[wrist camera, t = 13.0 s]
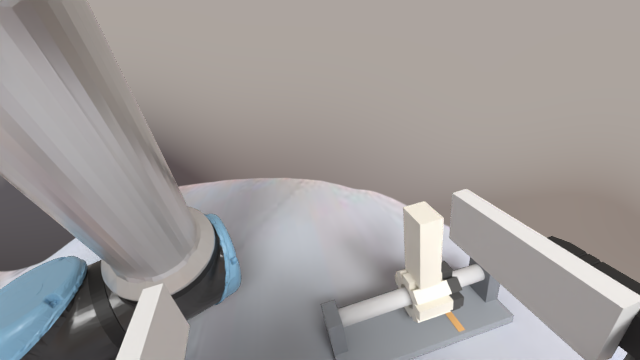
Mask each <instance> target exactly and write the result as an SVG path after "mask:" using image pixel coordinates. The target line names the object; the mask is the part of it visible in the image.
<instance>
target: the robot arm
mask: <svg viewBox="0 0 640 360" xmlns="http://www.w3.org/2000/svg"><path fill="white" fill-rule="evenodd" d="M0 175H1V176H2V177H3V178H5V179H6V180H7V181H8V182H10V183H11V184H12V185H13V186H15V187H16V188H17V189H18V190H19V191H20V192H22V193H23V194H24V195H25V196H26V197H28V198H29V199H30V200H31V201H33V202H34V203H35V204H36V205H37V206H39V207H40V208H41V209H42V210H43V211H45V212H46V213H47V214H48V215H49V216H51V217H52V218H53V219H54V220H55V221H57V222H58V223H59V224H60V225H62V226H63V227H64V228H65V229H66V230H68V231H69V232H70V233H71V234H72V235H74V236H75V237H76V238H77V239H78V240H80V241H81V242H82V243H83V244H84V245H86V246H87V247H88V248H89V249H91V250H92V251H93V252H94V253H95V254H97V255H98V256H99V257H100V258H101V259H102V260H100V261H98V262H96V263H93V264H91V265H88V266H87V264H86V262H85V261H84V260H81V259H80V258H78V257H75V256H68V257H60V258H57V259H54V260H51V261H49V262H46V263H44V264H42V265H40V266H38V267H36V268H34V269H32V270H30V271H28V272H26V273H25V274H23V275H21V276H20V277H18V278H16V279H15V280H13V281H12V282H10V283H9V284H7V285H6V286H5V287H3V288H2V289H0V360H184V358H185V352H186V346H187V340H188V335H189V329H190V326H189V324H188V322H187V320H188V319H190V318H192V317H194V316H195V315H197V314H199V313H201V312H203V311H204V310H206V309H208V308H210V307H211V306H213V305H217V304H219V303H221V302H222V301H223V300H224V299H225V298H226V297H228V296H229V295H231V294H233V293H234V292H235V291H236V290H237V289H238V288H239V286H240V284H241V270H240V266H239V262H238V260H237V258H236V253H235V249H234V246H233V243H232V241H231V238H230V236H229V234H228V232H227V230H226V228H225V226H224V224H223V222H222V221H221V219H220V218H219V217H218V216H217V215H214V214H208V215H204V214H203V213H201V212H200V211H198V210H196V209H194V208H192V207H188V206H187V204H186V202H185V200H184V198H183V196H182V194H181V192H180V190H179V188H178V186H177V184H176V182H175V180H174V178H173V176H172V174H171V172H170V169H169V167H168V166H167V163H166V161H165V159H164V157H163V155H162V153H161V151H160V149H159V147H158V145H157V143H156V141H155V139H154V137H153V135H152V133H151V131H150V129H149V126H148V124H147V122H146V120H145V118H144V116H143V114H142V112H141V110H140V108H139V106H138V104H137V102H136V100H135V98H134V96H133V94H132V92H131V90H130V88H129V85H128V83H127V81H126V79H125V77H124V76H123V73H122V71H121V69H120V67H119V65H118V63H117V61H116V59H115V57H114V55H113V53H112V50H111V49H110V46H109V45H108V42H107V40H106V38H105V36H104V34H103V32H102V30H101V28H100V26H99V24H98V22H97V20H96V18H95V16H94V14H93V11H92V9H91V7H90V5H89V3H88V1H87V0H0ZM449 238H450V239H451V240H452V241H453V242H454V243H455V244H456V245H457V246H459V247H460V248H461V249H462V250H463V251H464V252H465V253H466V254H468V255H469V256H470V257H471V258H472V259H473V260H474V261H475V262H476V263H478V264H479V265H480V266H481V267H482V268H483V269H484V270H485V271H486V272H488V273H489V274H490V275H491V276H492V277H493V278H494V279H495V280H496V281H498V282H499V283H500V284H501V285H502V286H503V287H504V288H505V289H507V290H508V291H509V292H510V293H511V294H512V295H513V296H514V297H515V298H517V299H518V300H519V301H520V302H521V303H522V304H523V305H524V306H525V307H527V308H528V309H529V310H530V311H531V312H532V313H533V314H534V315H535V316H537V317H538V318H539V319H540V320H541V321H542V322H543V323H544V324H546V325H547V326H548V327H549V328H550V329H551V330H552V331H553V332H554V333H556V334H557V335H558V336H559V337H560V338H561V339H562V340H563V341H564V342H566V343H567V344H568V345H569V346H570V347H571V348H572V349H573V350H574V351H576V352H577V353H578V354H579V355H580V356H581V357H582V358H583V359H585V360H607V359H610V358H612V356H613V354H614V353H615V351H616V349H617V347H618V346H620V347H621V348H622V349H624V350H625V351H626V352H627V355H626V357H625V358H624V360H640V283H638V282H636V281H635V280H633V279H631V278H629V277H628V276H626V275H624V274H623V273H621V272H619V271H617V270H616V269H614V268H612V267H611V266H609V265H607V264H606V263H604V262H600V260H599V259H597V258H595V257H594V256H592V255H590V254H587V253H586V252H585V251H583V250H582V249H580V248H578V247H577V246H575V245H573V244H571V243H569V242H567V241H564V240H561V239H558V238H556V237H553V236H551V237H548V238H546V237H544V236H542V235H541V234H539V233H538V232H536V231H534V230H532V229H531V228H529V227H528V226H526V225H525V224H523V223H521V222H519V221H518V220H516V219H515V218H513V217H512V216H510V215H508V214H507V213H505V212H503V211H502V210H500V209H499V208H497V207H495V206H494V205H492V204H490V203H489V202H487V201H486V200H484V199H482V198H481V197H479V196H477V195H476V194H474V193H473V192H471V191H469V190H467V189H464V190H461V191H458V192H455V193H452V208H451V222H450V235H449Z"/></svg>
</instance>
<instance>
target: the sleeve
mask: <svg viewBox="0 0 640 360" xmlns="http://www.w3.org/2000/svg"><path fill="white" fill-rule="evenodd" d="M403 216H404V245H405V269H403V270H400V271H397V272H396V274H395V283H396V284H397V286H398V287H399V288H397V289H400V288H404V287H406V289H407V290H408V292H409V294H410V297H411V300H412V302H413V304H411V305H408V306H405V307H404V308H405V309H406V311H407V313H408V314H409V316H410V317H412V318H413V321H415V322H417V323H420V322H422V321H425V320H428V319H431V318H434V317H437V316H440V315H442V314H445V313H448V312H451V311H450V310H453V299H452V298H451V297H450V296H449V295H450V294H452V292H451V290H450V288H449V285H448V283H447V280H442V272H441V263H442V242H443V221H444V219H443V217H442V216H441V215H440V214H439V213H437V212H436V211H435V210H434V209H433V208H432V207H430V206H429V205H428V204H427V203H426V202H425V201H424V202H420V203H417V204H413V205H410V206H406V207H403Z"/></svg>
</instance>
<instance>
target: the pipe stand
mask: <svg viewBox="0 0 640 360" xmlns="http://www.w3.org/2000/svg"><path fill="white" fill-rule="evenodd" d="M452 276H455V277H457V278H458V280H459V283H460V285H461V287H462V291H459V292H460V293H461V294H462V295H463V296H464V303H463V306H462V307H461V308H460V309H457V310H454V311H451V312H448V313H445V314H442V315H440V316H437V317H434V318H431V319H428V320H425V321H422V322H420V323H417V322H415V321H413V318H412V317H410V316H409V314H408V313H407V311H406V309H405V308H404V307H405V306H408V305H411V304H413V302H412V300H411V297H410V294H409V292H408V290H407V289H406V287H404V288H400V289H396V290H393V291H390V292H387V293H384V294H381V295H378V296H375V297H372V298H369V299H366V300H363V301H360V302H357V303H354V304H351V305H348V306H345V307H341V308H338V309H337V306H336V303H335V300H332V301H329V302H326V303H323V304H321V306H322V310H323V316H324V320H325V324H326V327H327V331H328V334H329V338H330V341H331V345H332V349H333V352H334V356H335V359H336V360H410V359H413V358H416V357H418V356H421V355H424V354H427V353H429V352H432V351H435V350H438V349H440V348H443V347H446V346H448V345H451V344H454V343H457V342H459V341H462V340H465V339H468V338H470V337H473V336H476V335H478V334H481V333H484V332H487V331H489V330H492V329H495V328H498V327H500V326H503V325H506V324H509V323H511V322H512V321H513V317H514V315H513V314H512V313H511V312H510V311H509V310H508V309H507V308H506V307H505V306H504V305H503V304H502V303H501V302H500V301H499V300H498V299H497V297H498V292H499V287H500V283H499V282H498V281H496V280H495V279H494V278H493V277H492V276H491V275H490V274H489V273H488V272H486V271H485V270H484V269H483V268H482V267H481V266H480V265H479V264H478V263H476V262H475V261H474V260H473V259H472V258H471V257H470V263H469V266H467V267H463V268H460V269H457V270H454V271H453V272H452Z"/></svg>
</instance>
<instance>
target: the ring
mask: <svg viewBox="0 0 640 360" xmlns="http://www.w3.org/2000/svg"><path fill="white" fill-rule="evenodd" d="M441 272H442V280H447V283H448V285H449V288H450V290H451V292H452V294H450V295H449V296H450V297H451V298H452V299H453V310H450V311H454V310H457V309H460V308H461V307H462V306H463V303H464V296H463V295H462V294H461V293H460V292H459V291H462V287H461V285H460V283H459V280H458V278H457V277H455V276H452V272H453V269H452V268H451V267H450V266H449V265H448V264H447V263H446V262H445V261H443V262H442V263H441Z"/></svg>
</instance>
